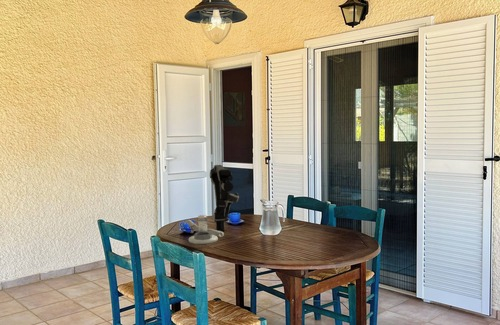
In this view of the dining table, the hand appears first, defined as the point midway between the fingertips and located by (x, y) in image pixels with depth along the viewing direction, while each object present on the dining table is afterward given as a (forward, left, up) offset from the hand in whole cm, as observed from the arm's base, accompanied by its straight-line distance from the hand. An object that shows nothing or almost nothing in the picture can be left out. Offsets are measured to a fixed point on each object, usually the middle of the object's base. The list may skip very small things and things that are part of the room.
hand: (225, 215), depth 279 cm
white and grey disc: (+11, -11, -13) cm, 20 cm away
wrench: (-4, -16, -14) cm, 21 cm away
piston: (+11, -11, -12) cm, 19 cm away
